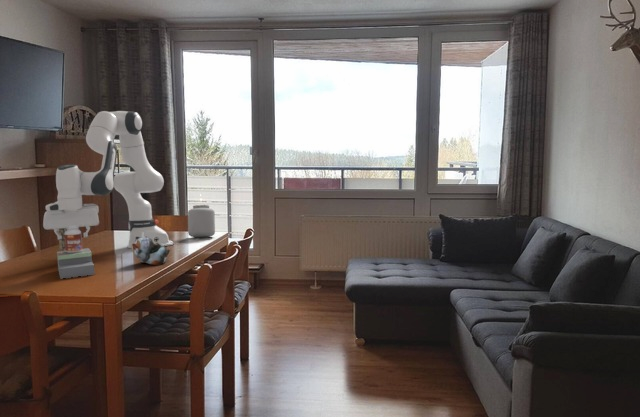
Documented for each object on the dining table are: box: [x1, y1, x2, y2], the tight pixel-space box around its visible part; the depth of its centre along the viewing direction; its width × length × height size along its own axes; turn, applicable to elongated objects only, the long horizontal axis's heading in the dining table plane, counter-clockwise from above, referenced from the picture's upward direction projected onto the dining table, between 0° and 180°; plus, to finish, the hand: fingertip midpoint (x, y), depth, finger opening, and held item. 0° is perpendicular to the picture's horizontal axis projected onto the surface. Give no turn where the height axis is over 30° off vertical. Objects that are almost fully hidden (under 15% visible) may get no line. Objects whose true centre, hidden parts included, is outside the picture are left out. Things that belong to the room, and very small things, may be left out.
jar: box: [187, 194, 216, 238], centre depth 270 cm, size 19×15×25 cm
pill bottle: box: [64, 225, 83, 253], centre depth 195 cm, size 6×6×11 cm
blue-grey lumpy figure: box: [131, 236, 171, 266], centre depth 208 cm, size 15×12×14 cm
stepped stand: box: [56, 247, 96, 280], centre depth 193 cm, size 12×17×8 cm
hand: (72, 238), depth 195 cm, fingers open, 8 cm apart
